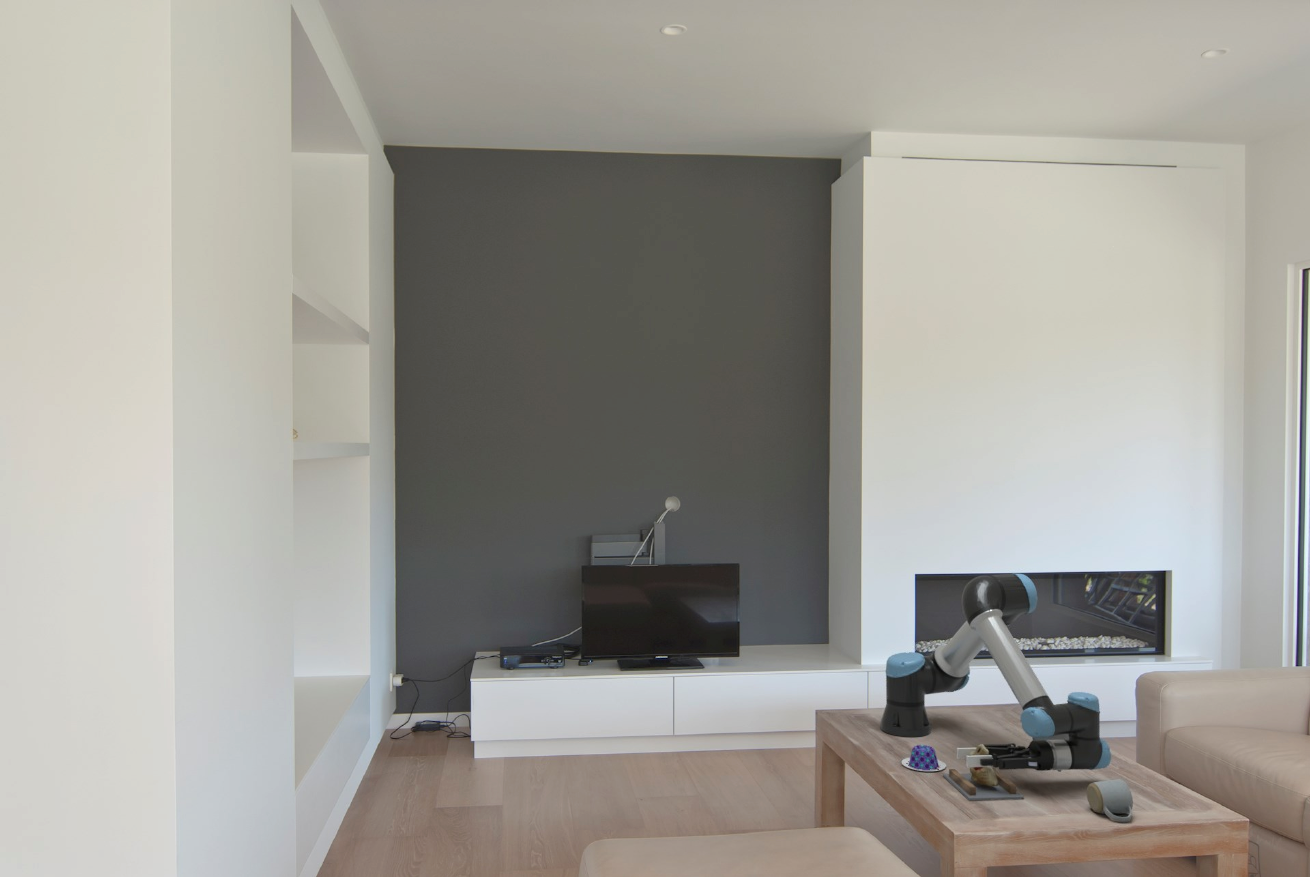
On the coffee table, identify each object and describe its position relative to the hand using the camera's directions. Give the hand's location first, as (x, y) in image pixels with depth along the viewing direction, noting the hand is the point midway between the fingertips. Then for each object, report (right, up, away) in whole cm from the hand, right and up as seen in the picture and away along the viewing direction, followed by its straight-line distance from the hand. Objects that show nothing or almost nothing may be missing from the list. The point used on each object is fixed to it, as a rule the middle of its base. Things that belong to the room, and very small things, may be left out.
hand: (962, 757), depth 246 cm
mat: (+5, -8, 0) cm, 9 cm away
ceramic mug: (+30, -8, -18) cm, 36 cm away
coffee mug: (+35, -8, +24) cm, 43 cm away
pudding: (-5, -9, +18) cm, 20 cm away
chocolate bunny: (+5, -6, -1) cm, 8 cm away
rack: (+5, -8, 0) cm, 9 cm away
